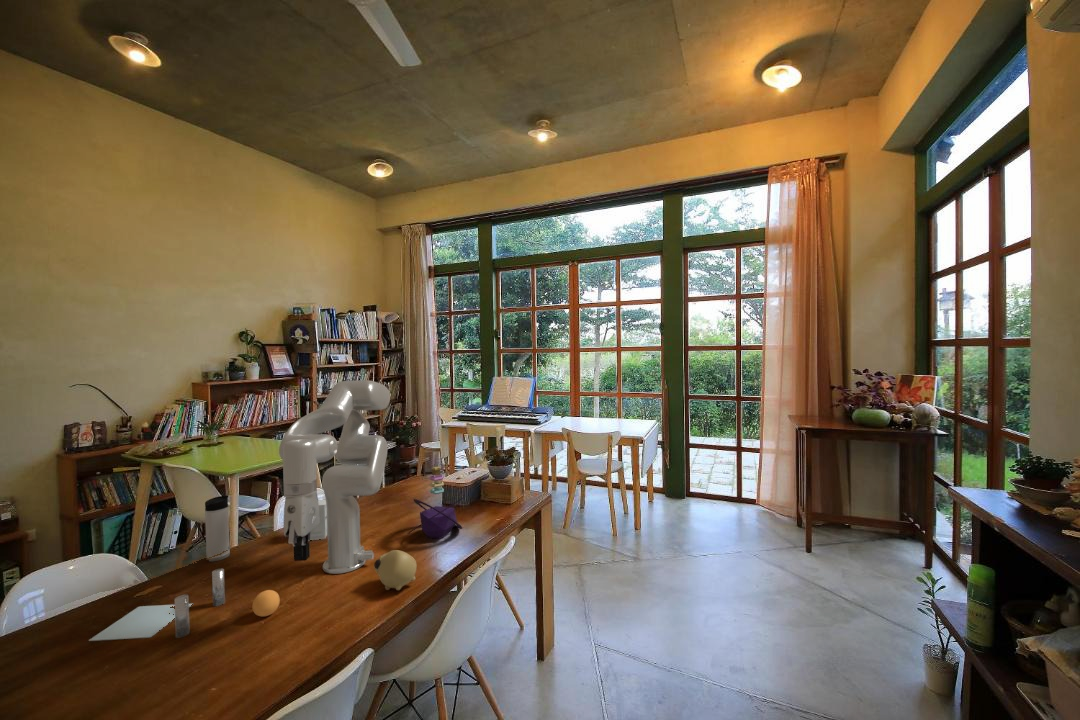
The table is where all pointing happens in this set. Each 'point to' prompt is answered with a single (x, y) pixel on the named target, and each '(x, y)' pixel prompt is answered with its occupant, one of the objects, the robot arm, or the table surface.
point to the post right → (218, 587)
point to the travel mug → (217, 528)
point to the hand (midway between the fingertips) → (301, 559)
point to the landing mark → (139, 623)
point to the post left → (182, 616)
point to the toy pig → (395, 569)
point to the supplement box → (321, 529)
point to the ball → (266, 603)
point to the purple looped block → (437, 512)
